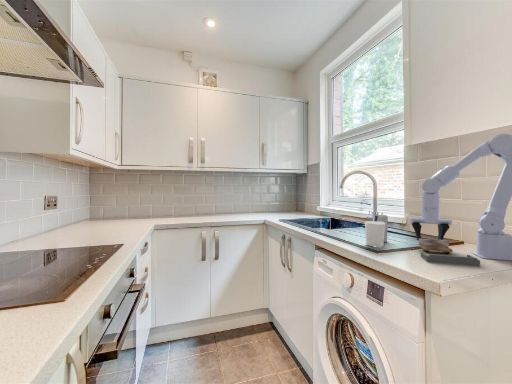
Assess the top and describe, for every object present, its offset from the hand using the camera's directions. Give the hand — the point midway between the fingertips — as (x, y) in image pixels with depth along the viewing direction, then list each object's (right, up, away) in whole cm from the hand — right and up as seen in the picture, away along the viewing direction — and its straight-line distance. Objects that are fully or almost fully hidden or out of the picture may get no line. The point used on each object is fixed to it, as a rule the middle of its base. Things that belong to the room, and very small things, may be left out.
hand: (429, 240), depth 102 cm
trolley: (-2, -3, -6) cm, 7 cm away
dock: (-4, -4, -14) cm, 15 cm away
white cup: (-21, -3, +4) cm, 21 cm away
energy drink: (-14, -3, +12) cm, 19 cm away
